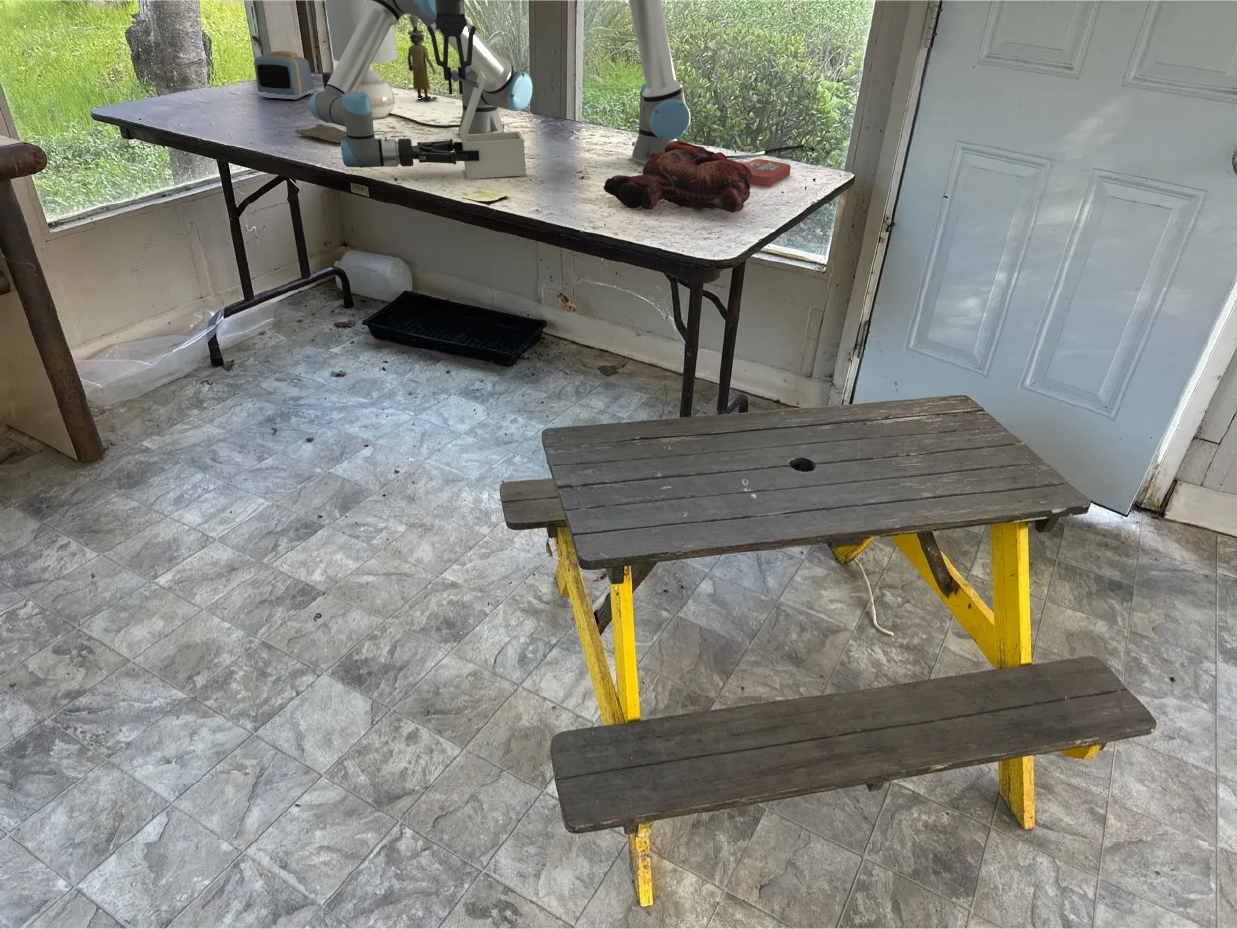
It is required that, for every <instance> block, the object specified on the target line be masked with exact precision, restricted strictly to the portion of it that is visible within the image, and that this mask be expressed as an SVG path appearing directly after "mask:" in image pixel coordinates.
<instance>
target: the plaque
mask: <svg viewBox="0 0 1237 929" xmlns="http://www.w3.org/2000/svg"><path fill="white" fill-rule="evenodd" d="M739 162H740V163H742V164H744V165H745V166H746V167H747V168H749V169H750V171H751V173H752V178H751V180H750V186H751V185H752V186H755V187H762V188H769V187H772V186H773V185H775V184H777V183H779V182H780V181H782V180H784V179H786V178H788V177H789V176H790V175H791V168H792V165H791V164H789V163H786V162H781V161H775V160H769V159H763V158H754V159H752V160H749V161H739Z"/></svg>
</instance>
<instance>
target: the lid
mask: <svg viewBox="0 0 1237 929" xmlns="http://www.w3.org/2000/svg"><path fill="white" fill-rule="evenodd" d="M451 81H452V82H454V83H458V82H459V81H461V82H464V83H466V84H468V85H471V86H473V87H474V89H473V92H472V95H471V98H470V101H469V104H468V107H467V111H466V114H465V117H464V120H463V123H462V126H461V129H460V136H461V137H460V136H459V137H460V139H461V142H462V141H465V140H466V137H467V134H468V131H469V128H470V125H471V122H472V119H473V116H474V113H475V110H476V107H477V104H478V102H479V99H480V96H481V93H482V90H483V87H484V84H485V81H486V77H485V75H484V73H483V72H482V71H479V74H478V77H477V80H476V82H475V81H473V80H470V79H468V78H466V80H464V79H462V78H459V74H458V70H456V69H451Z"/></svg>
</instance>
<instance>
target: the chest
mask: <svg viewBox="0 0 1237 929" xmlns="http://www.w3.org/2000/svg"><path fill="white" fill-rule="evenodd" d="M461 142H462V146H463V151H473V150H479V161H463V164H464V171H465V175H466V180H473V179H477V180H478V179H489V178H505V177H519V176H520V177H521V176H527V168H526V166H527V165H526V154H525V139H524V137H523V135H522V133H521V131H507V132H506V131H504V132H503V133H486V134H469V135H467V137H466V140H465V141H462V140H461Z"/></svg>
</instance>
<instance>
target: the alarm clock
mask: <svg viewBox="0 0 1237 929" xmlns="http://www.w3.org/2000/svg"><path fill="white" fill-rule="evenodd" d="M253 65H254V72H255V77H256V78H255V79H256V86H257V92H258V91H259V92H267V93H276V94H285V95H299V94H302V93H304V92H307V91H309V90H311V89H314V90H315V85H314V81H313V76H312V72H311V67H310V62H309V60H307V59H306V58H305V57H302V56H299V55H298V53H296V52H293V51H289V50H275V51H269V52H266V55H261V56H257V57H256V58H254V60H253Z"/></svg>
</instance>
